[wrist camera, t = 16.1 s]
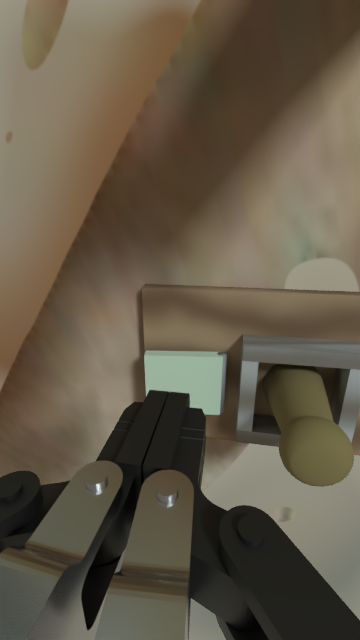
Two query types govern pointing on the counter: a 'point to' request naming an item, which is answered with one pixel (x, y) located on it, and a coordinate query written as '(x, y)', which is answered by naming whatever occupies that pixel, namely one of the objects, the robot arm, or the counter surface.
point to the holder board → (262, 347)
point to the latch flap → (189, 376)
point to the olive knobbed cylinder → (307, 426)
